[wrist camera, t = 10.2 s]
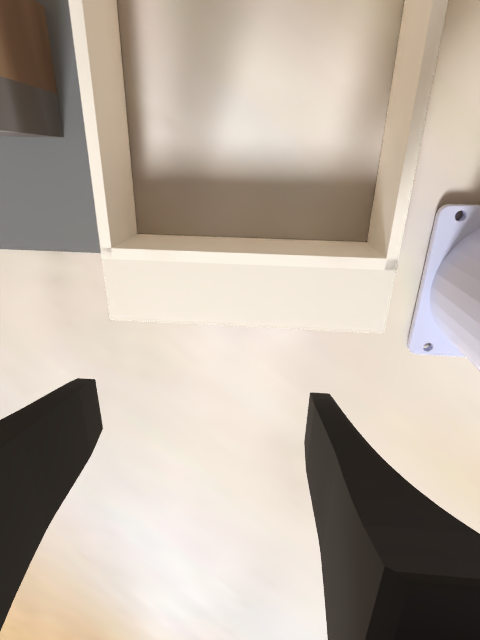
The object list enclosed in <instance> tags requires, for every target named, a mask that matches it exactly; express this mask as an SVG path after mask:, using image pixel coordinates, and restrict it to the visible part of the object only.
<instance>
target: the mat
mask: <svg viewBox="0 0 480 640" xmlns="http://www.w3.org/2000/svg"><path fill="white" fill-rule="evenodd" d="M35 1H37V2H38V3H40V4H41V5H43V6H44V9H45V15H46V22H47V29H48V35H49V42H50V49H51V55H52V62H53V68H54V75H55V82H56V88H57V95H58V102H59V108H60V115H61V122H62V128H63V135H64V138H63V137H10V136H0V249H14V250H40V251H65V252H91V253H101V249H100V241H99V234H98V226H97V218H96V211H95V203H94V195H93V187H92V180H91V172H90V164H89V156H88V149H87V141H86V133H85V126H84V118H83V110H82V102H81V95H80V87H79V79H78V72H77V64H76V56H75V48H74V41H73V33H72V25H71V17H70V10H69V2H68V0H35Z"/></svg>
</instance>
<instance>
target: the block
mask: <svg viewBox="0 0 480 640" xmlns="http://www.w3.org/2000/svg"><path fill="white" fill-rule="evenodd" d="M0 136H10V137H63V138H64V135H63V128H62V122H61V115H60V108H59V102H58V95H57V88H56V82H55V75H54V68H53V62H52V55H51V49H50V42H49V35H48V29H47V22H46V15H45V9H44V6H43V5H41V4H40V3H38V2H37V1H35V0H0Z"/></svg>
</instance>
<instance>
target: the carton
mask: <svg viewBox="0 0 480 640" xmlns="http://www.w3.org/2000/svg"><path fill="white" fill-rule="evenodd" d="M448 1H449V0H405V2H404V8H403V15H402V21H401V27H400V34H399V40H398V47H397V53H396V59H395V66H394V72H393V79H392V85H391V92H390V98H389V104H388V111H387V117H386V124H385V130H384V136H383V143H382V149H381V156H380V162H379V168H378V175H377V181H376V188H375V194H374V200H373V207H372V213H371V220H370V226H369V232H368V239H367V242H350V241H322V240H293V239H265V238H237V237H209V236H181V235H153V234H137V225H136V214H135V203H134V191H133V180H132V169H131V158H130V146H129V135H128V124H127V112H126V101H125V90H124V78H123V67H122V56H121V44H120V33H119V22H118V11H117V0H68V2H69V10H70V17H71V25H72V33H73V41H74V48H75V56H76V64H77V72H78V79H79V87H80V95H81V102H82V110H83V118H84V126H85V133H86V141H87V149H88V156H89V164H90V172H91V180H92V187H93V195H94V203H95V211H96V218H97V226H98V234H99V241H100V249H101V257H102V265H103V272H104V280H105V288H106V296H107V303H108V311H109V319H110V320H124V321H144V322H164V323H183V324H203V325H223V326H243V327H263V328H282V329H302V330H322V331H342V332H361V333H381V334H384V332H385V327H386V321H387V316H388V311H389V306H390V301H391V296H392V290H393V285H394V280H395V275H396V270H397V264H398V259H399V254H400V249H401V244H402V239H403V233H404V228H405V223H406V218H407V213H408V208H409V202H410V197H411V192H412V187H413V182H414V177H415V171H416V166H417V161H418V156H419V151H420V146H421V140H422V135H423V130H424V125H425V120H426V115H427V109H428V104H429V99H430V94H431V89H432V83H433V78H434V73H435V68H436V63H437V58H438V52H439V47H440V42H441V37H442V32H443V27H444V21H445V16H446V11H447V6H448Z"/></svg>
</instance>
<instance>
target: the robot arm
mask: <svg viewBox="0 0 480 640" xmlns="http://www.w3.org/2000/svg"><path fill="white" fill-rule="evenodd" d="M461 210H462V212H463V216H462V217H461V219H459V220H456V219H455V215H456V213H457V212H458V211H461ZM426 343H430V346H429V347H427V348H423V346H424V345H425V344H426ZM407 347H408V349H409V350H410V352H412V353H413V354H419V355H438V356H456V357H466V358H467V359H468V360H469V361H470V362H471V363H472V364H473V365H474V366H475V367H476V368H477V369H478V370H479V371H480V205H469V204H446V205H443V206H442V207H440V208H439V210H438V211H437V213H436V217H435V222H434V226H433V231H432V235H431V240H430V244H429V249H428V253H427V257H426V262H425V266H424V271H423V275H422V280H421V284H420V289H419V293H418V298H417V302H416V307H415V311H414V316H413V320H412V325H411V329H410V334H409V338H408V343H407ZM102 429H103V426H102V420H101V414H100V407H99V401H98V395H97V388H96V382H95V379H79V378H78V379H75V380H73V381H71V382H69V383H67V384H65V385H63V386H62V387H60V388H58V389H56V390H54V391H53V392H51V393H49V394H47V395H46V396H44V397H42V398H40V399H38V400H37V401H35V402H33V403H31V404H29V405H28V406H26V407H24V408H22V409H20V410H19V411H17V412H15V413H13V414H11V415H9V416H7V417H5V418H3V419H1V420H0V631H1V628H2V626H3V624H4V621H5V619H6V616H7V614H8V612H9V609H10V607H11V605H12V602H13V600H14V598H15V595H16V593H17V591H18V589H19V587H20V584H21V582H22V580H23V578H24V576H25V573H26V571H27V569H28V567H29V565H30V562H31V560H32V558H33V556H34V554H35V552H36V550H37V548H38V546H39V544H40V542H41V540H42V538H43V536H44V534H45V532H46V530H47V528H48V526H49V524H50V523H51V521H52V519H53V517H54V515H55V514H56V512H57V511H58V509H59V507H60V506H61V504H62V502H63V501H64V499H65V498H66V496H67V494H68V493H69V491H70V489H71V488H72V486H73V485H74V483H75V481H76V480H77V478H78V476H79V475H80V473H81V471H82V470H83V468H84V466H85V465H86V463H87V461H88V460H89V458H90V456H91V454H92V452H93V450H94V448H95V446H96V443H97V441H98V439H99V436H100V434H101V431H102ZM304 443H305V460H306V472H307V478H308V484H309V489H310V495H311V500H312V506H313V511H314V517H315V522H316V527H317V533H318V538H319V545H320V552H321V562H322V573H323V584H324V596H325V608H326V621H327V634H328V640H480V534H479V533H478V532H476V531H474V530H473V529H471V528H470V527H468V526H467V525H465V524H464V523H462V522H461V521H459V520H458V519H456V518H455V517H453V516H452V515H451V514H449V513H448V512H446V511H445V510H444V509H442V508H441V507H439V506H438V505H437V504H435V503H434V502H433V501H431V500H430V499H429V498H428V497H426V496H425V495H424V494H422V493H421V492H420V491H419V490H417V489H416V488H415V487H414V486H412V485H411V484H410V483H409V482H408V481H406V480H405V479H404V478H403V477H402V476H401V475H400V474H399V473H398V472H396V471H395V470H394V469H393V468H392V467H391V466H390V465H389V464H388V463H387V462H386V461H385V460H384V459H383V458H382V457H381V456H380V455H379V454H378V453H377V452H376V451H375V450H374V449H373V448H372V447H371V446H370V445H369V443H368V442H367V441H366V440H365V439H364V438H363V437H362V435H361V434H360V433H359V432H358V431H357V429H356V428H355V427H354V426H353V424H352V423H351V422H350V421H349V419H348V418H347V417H346V415H345V414H344V413H343V412H342V410H341V409H340V407H339V406H338V405H337V403H336V402H335V401H334V399H333V398H332V397H331V395H330V394H325V393H310V398H309V406H308V415H307V424H306V433H305V442H304Z"/></svg>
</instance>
